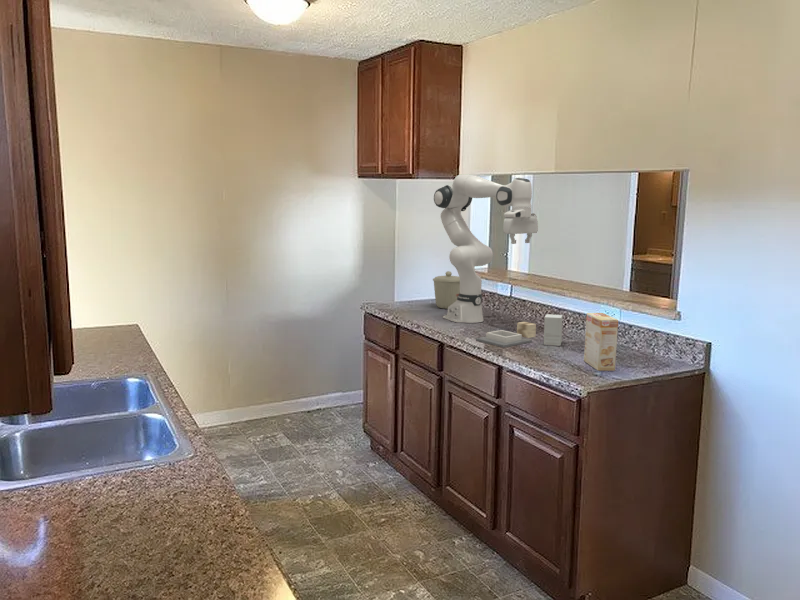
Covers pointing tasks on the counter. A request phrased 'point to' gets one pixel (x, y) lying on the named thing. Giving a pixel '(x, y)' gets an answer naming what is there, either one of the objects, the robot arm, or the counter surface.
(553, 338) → the supplement box
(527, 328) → the tan cardboard carton
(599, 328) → the coffeecake box
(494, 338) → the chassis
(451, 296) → the canister
